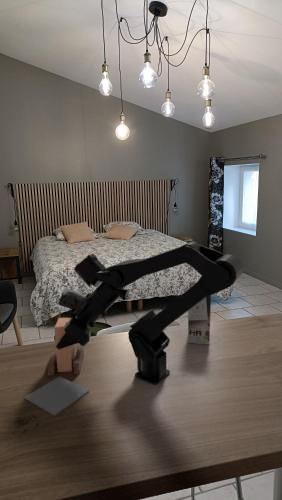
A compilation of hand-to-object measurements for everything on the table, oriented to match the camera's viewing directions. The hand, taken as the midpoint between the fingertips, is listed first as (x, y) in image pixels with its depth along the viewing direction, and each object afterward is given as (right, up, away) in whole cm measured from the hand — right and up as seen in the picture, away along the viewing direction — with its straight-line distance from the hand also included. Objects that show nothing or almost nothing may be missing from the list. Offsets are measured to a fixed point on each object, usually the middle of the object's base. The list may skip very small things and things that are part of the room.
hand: (59, 342), depth 89 cm
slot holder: (+2, -6, +1) cm, 7 cm away
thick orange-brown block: (+1, -6, +1) cm, 7 cm away
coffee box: (+39, -3, +16) cm, 42 cm away
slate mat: (+2, -9, -11) cm, 14 cm away
